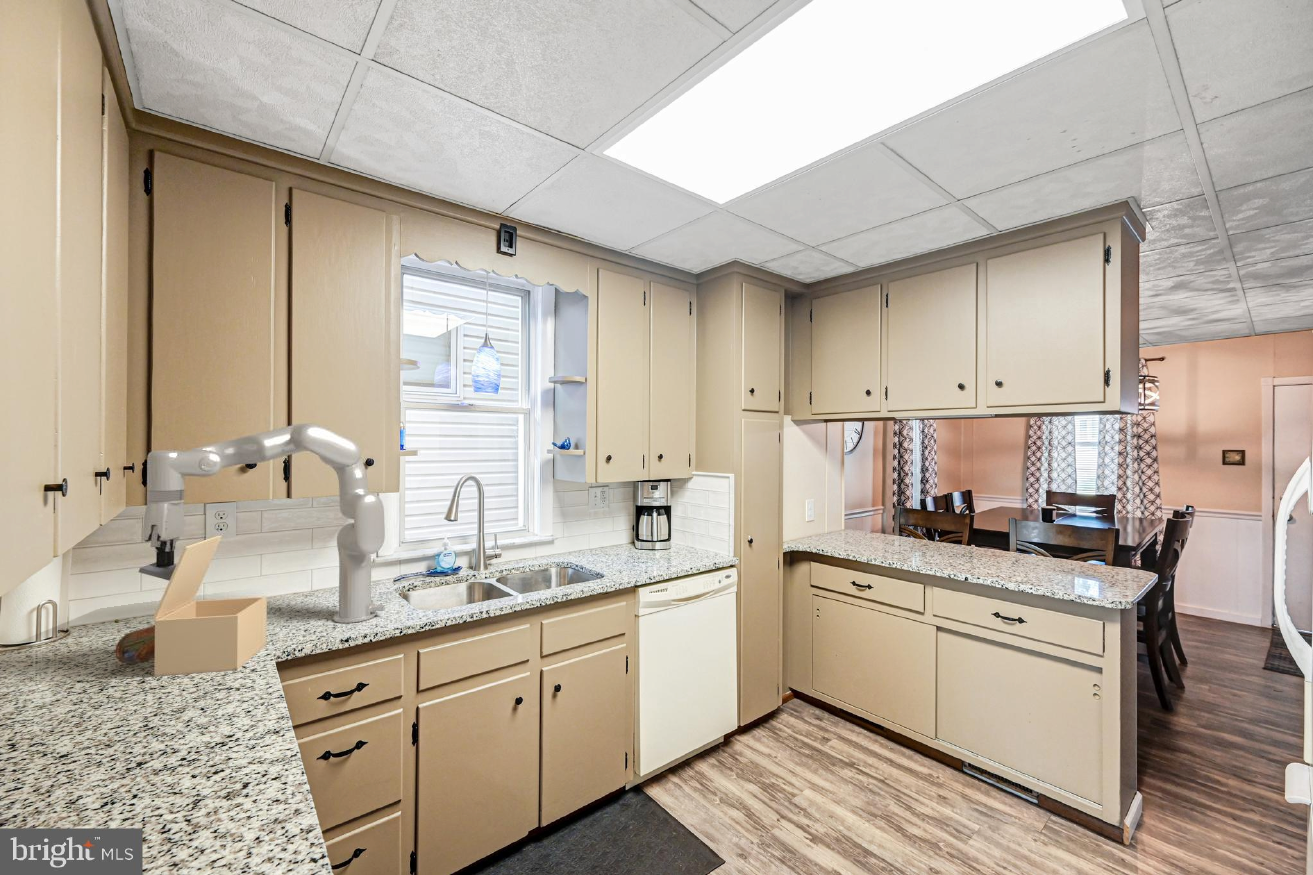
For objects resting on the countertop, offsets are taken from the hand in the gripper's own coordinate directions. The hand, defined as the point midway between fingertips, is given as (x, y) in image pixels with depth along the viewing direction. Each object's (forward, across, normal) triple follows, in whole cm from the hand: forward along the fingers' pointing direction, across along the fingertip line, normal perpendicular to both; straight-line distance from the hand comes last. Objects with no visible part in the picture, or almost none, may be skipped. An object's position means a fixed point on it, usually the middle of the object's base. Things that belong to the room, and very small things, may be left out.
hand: (165, 566), depth 150 cm
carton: (+26, 0, +11) cm, 28 cm away
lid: (+3, 0, +6) cm, 6 cm away
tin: (+26, -6, -7) cm, 28 cm away
